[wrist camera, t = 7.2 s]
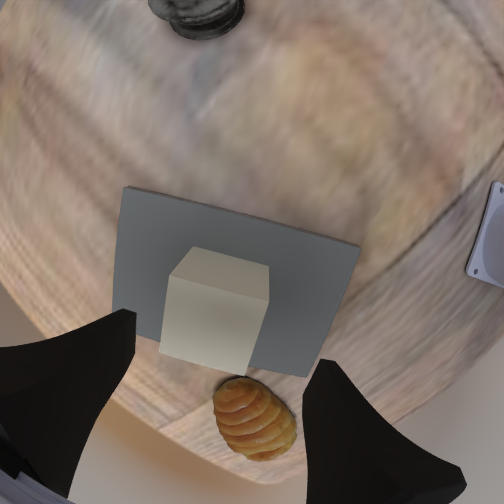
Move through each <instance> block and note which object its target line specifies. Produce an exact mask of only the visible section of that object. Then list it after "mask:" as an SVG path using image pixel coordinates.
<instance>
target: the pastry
mask: <svg viewBox="0 0 504 504" xmlns="http://www.w3.org/2000/svg"><path fill="white" fill-rule="evenodd" d="M212 399H213V404H214V412H213V413H214V415H215V416H216V422H217V426H218V428H219V432H220V434H221V435H222V436H223V438H224V440H225V441H226V442H227V445H228V446H229V447H230V448H231V449H232V450H233V451H234V452H236V453H242V454H243V455H245V456H246V458H247V459H249V460H252V461H258V462H261V461H269V460H273V459H274V458H276V457H277V456H279V455H282V454H284V453H285V452H287V451H288V450H289V449H290V448H291V446H292V445H293V444H294V442H295V440H296V437H297V434H296V421H295V419H294V418H293V416H292V414H291V412H290V411H289V410H288V409H287V408H286V407H285V406H284V404H283V403H282V402H281V401H280V400H279V399H278V398H277V397H275V396H274V395H273V394H272V393H271V392H270V391H269V390H268V389H267V388H266V387H264V386H263V385H262V384H260V383H258V382H256V381H254V380H252V379H250V378H242V377H241V378H238V379H233V380H229V381H227V382H225V383H224V384H223V385H222V386H221V387H220V388H219V389H218V390H217V391H216V393H215V394H214V395H213V397H212Z"/></svg>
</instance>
